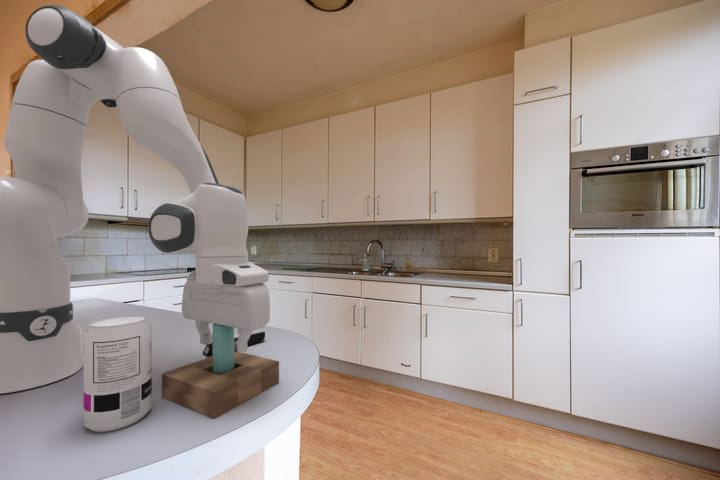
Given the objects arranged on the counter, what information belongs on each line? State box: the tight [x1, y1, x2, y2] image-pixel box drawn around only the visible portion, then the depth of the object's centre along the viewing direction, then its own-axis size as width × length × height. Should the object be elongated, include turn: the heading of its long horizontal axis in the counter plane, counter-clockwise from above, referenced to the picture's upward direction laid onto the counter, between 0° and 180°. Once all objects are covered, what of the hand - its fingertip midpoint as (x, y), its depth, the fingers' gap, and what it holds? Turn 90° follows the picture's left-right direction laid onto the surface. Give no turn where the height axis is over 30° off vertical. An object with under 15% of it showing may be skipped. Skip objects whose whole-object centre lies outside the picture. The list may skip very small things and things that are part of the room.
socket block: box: [161, 352, 280, 419], centre depth 57 cm, size 14×14×4 cm
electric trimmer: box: [202, 331, 266, 358], centre depth 80 cm, size 4×16×3 cm, turn 135°
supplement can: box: [83, 314, 153, 433], centre depth 48 cm, size 8×8×15 cm
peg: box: [212, 323, 235, 375], centre depth 57 cm, size 4×4×12 cm
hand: (222, 347), depth 57 cm, fingers open, 8 cm apart
